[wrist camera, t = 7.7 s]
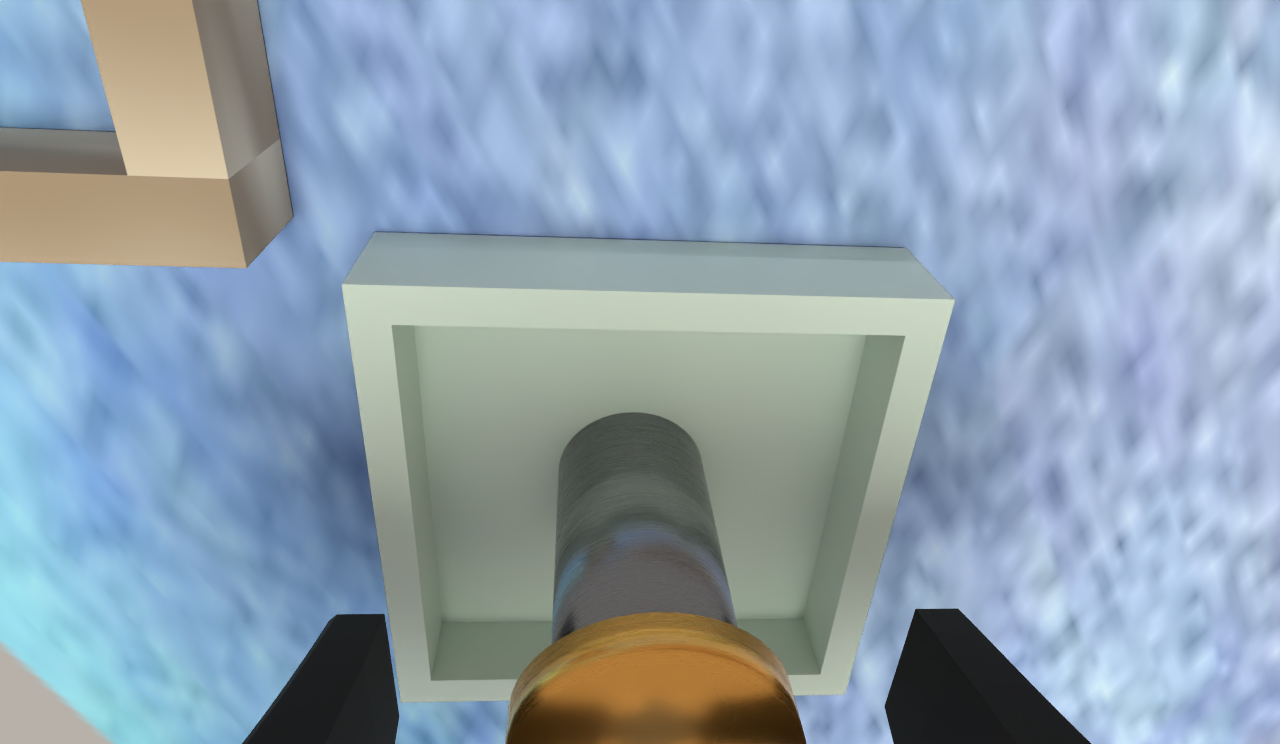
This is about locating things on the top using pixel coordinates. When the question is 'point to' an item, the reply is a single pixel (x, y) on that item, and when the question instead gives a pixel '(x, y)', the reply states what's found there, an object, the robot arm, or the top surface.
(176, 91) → the collar block
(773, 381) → the parts tray
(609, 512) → the pin
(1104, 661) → the top surface
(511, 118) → the top surface
